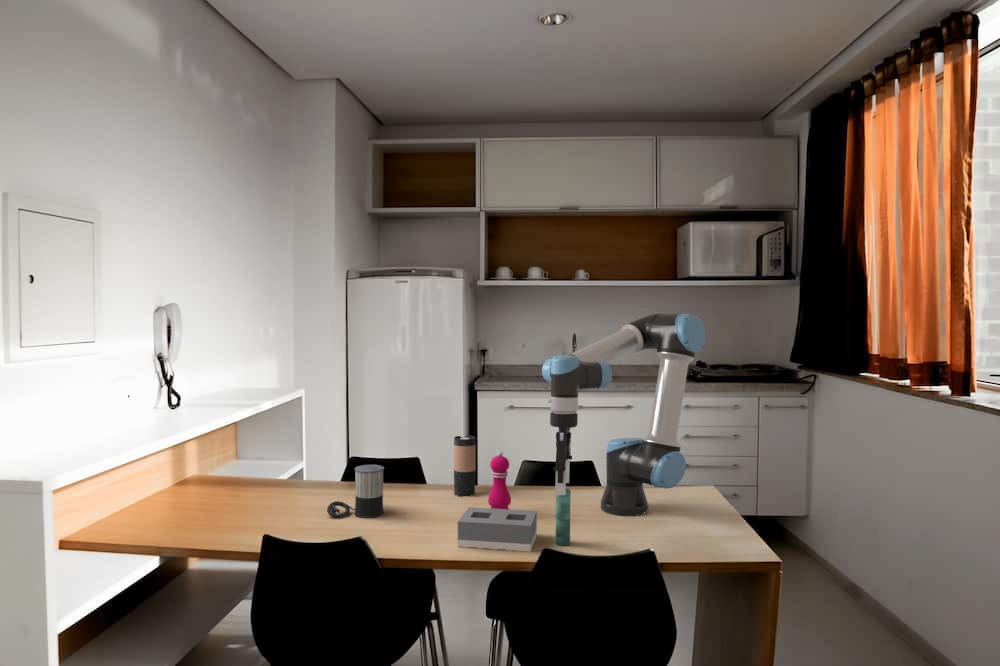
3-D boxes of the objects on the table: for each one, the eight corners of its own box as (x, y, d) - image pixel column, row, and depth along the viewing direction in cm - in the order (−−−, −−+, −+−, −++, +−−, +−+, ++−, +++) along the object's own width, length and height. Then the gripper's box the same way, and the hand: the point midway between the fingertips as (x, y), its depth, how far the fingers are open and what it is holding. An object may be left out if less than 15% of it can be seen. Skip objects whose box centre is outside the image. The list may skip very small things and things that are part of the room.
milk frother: (390, 514, 221) (390, 467, 220) (347, 525, 209) (347, 476, 209) (363, 505, 230) (363, 460, 230) (321, 515, 219) (321, 468, 218)
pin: (570, 541, 196) (571, 488, 195) (569, 546, 192) (570, 492, 191) (556, 540, 196) (556, 487, 196) (554, 545, 192) (555, 491, 192)
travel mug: (467, 498, 239) (467, 440, 239) (449, 494, 243) (449, 437, 243) (479, 493, 246) (480, 436, 245) (461, 490, 250) (462, 434, 249)
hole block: (536, 535, 201) (536, 510, 201) (530, 551, 187) (530, 525, 187) (468, 530, 205) (468, 507, 204) (457, 546, 191) (457, 521, 191)
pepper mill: (508, 518, 217) (508, 454, 216) (485, 516, 218) (486, 453, 218) (512, 511, 224) (513, 449, 223) (490, 510, 226) (491, 448, 225)
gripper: (554, 405, 205) (553, 477, 206) (545, 417, 181) (544, 499, 182) (580, 406, 204) (578, 478, 205) (574, 419, 180) (573, 501, 180)
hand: (562, 488), depth 193 cm, fingers open, 13 cm apart
